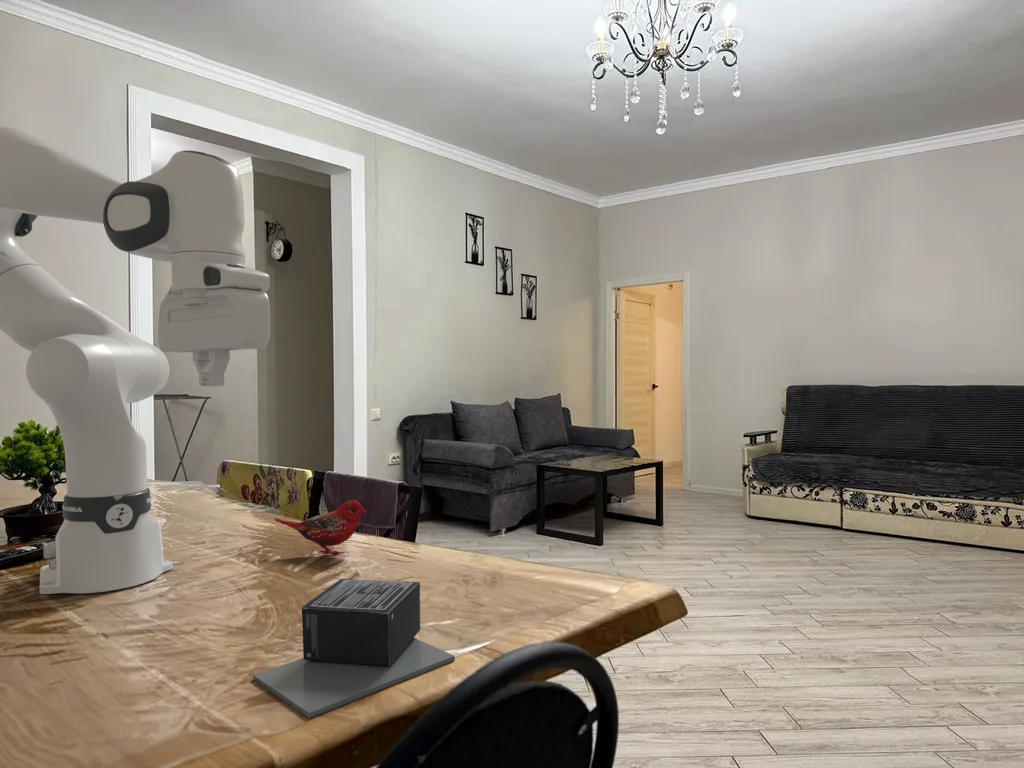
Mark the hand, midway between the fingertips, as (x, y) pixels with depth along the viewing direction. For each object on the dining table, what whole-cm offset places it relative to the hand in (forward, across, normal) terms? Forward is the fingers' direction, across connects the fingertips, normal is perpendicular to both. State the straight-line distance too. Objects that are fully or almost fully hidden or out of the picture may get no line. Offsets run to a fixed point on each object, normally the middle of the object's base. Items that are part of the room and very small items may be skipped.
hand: (211, 386), depth 90 cm
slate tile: (+31, +26, 0) cm, 40 cm away
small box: (+28, +18, +2) cm, 33 cm away
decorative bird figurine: (+31, -16, +30) cm, 46 cm away
